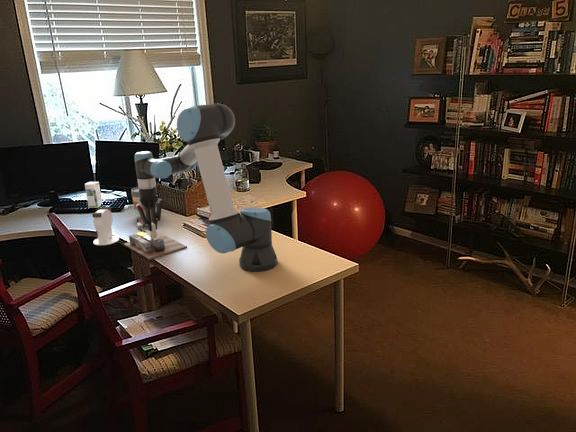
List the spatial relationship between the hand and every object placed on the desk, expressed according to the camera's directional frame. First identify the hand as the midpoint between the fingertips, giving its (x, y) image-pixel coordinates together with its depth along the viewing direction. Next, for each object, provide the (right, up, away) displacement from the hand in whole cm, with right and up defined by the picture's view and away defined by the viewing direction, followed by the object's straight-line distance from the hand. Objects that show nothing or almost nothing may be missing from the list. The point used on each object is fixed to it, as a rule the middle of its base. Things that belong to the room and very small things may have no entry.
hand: (153, 237), depth 221 cm
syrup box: (-48, +14, +55) cm, 74 cm away
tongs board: (+2, -4, -5) cm, 7 cm away
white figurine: (-23, -2, +4) cm, 23 cm away
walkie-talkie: (-9, +4, +21) cm, 23 cm away
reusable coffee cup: (-14, +9, +37) cm, 40 cm away
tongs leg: (0, -3, -6) cm, 7 cm away
